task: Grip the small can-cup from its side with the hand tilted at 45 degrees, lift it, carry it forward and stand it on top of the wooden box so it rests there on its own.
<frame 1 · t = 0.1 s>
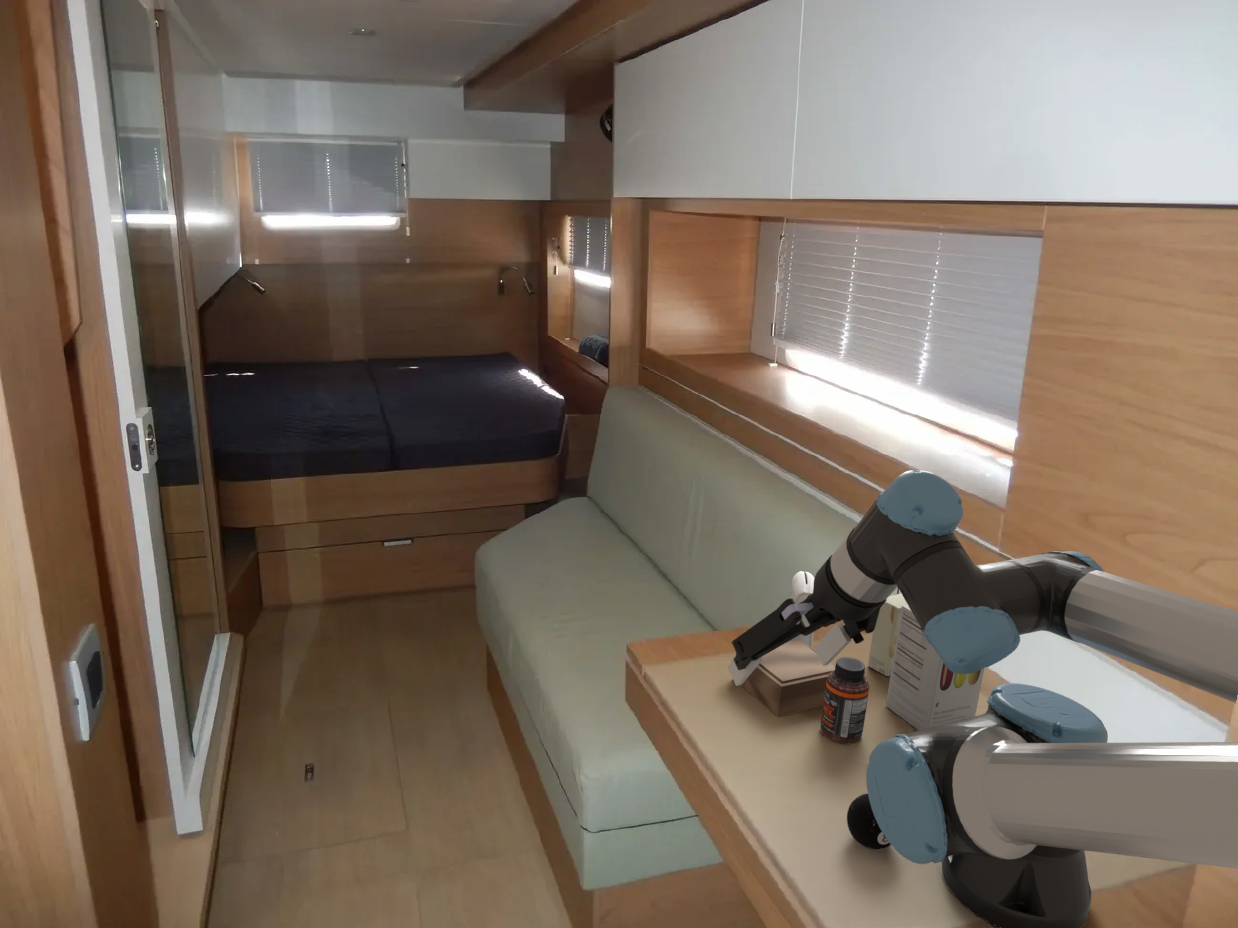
hand: (778, 665, 115), 15 cm above the table, tool tilted 35°, fingers open, 13 cm apart
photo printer: (798, 643, 156), on the table
skincare box: (889, 668, 148), on the table
supplement bottle: (840, 734, 128), on the table
wooden box: (786, 689, 139), on the table
supplement box: (928, 717, 134), on the table
billiard ball: (870, 843, 106), on the table
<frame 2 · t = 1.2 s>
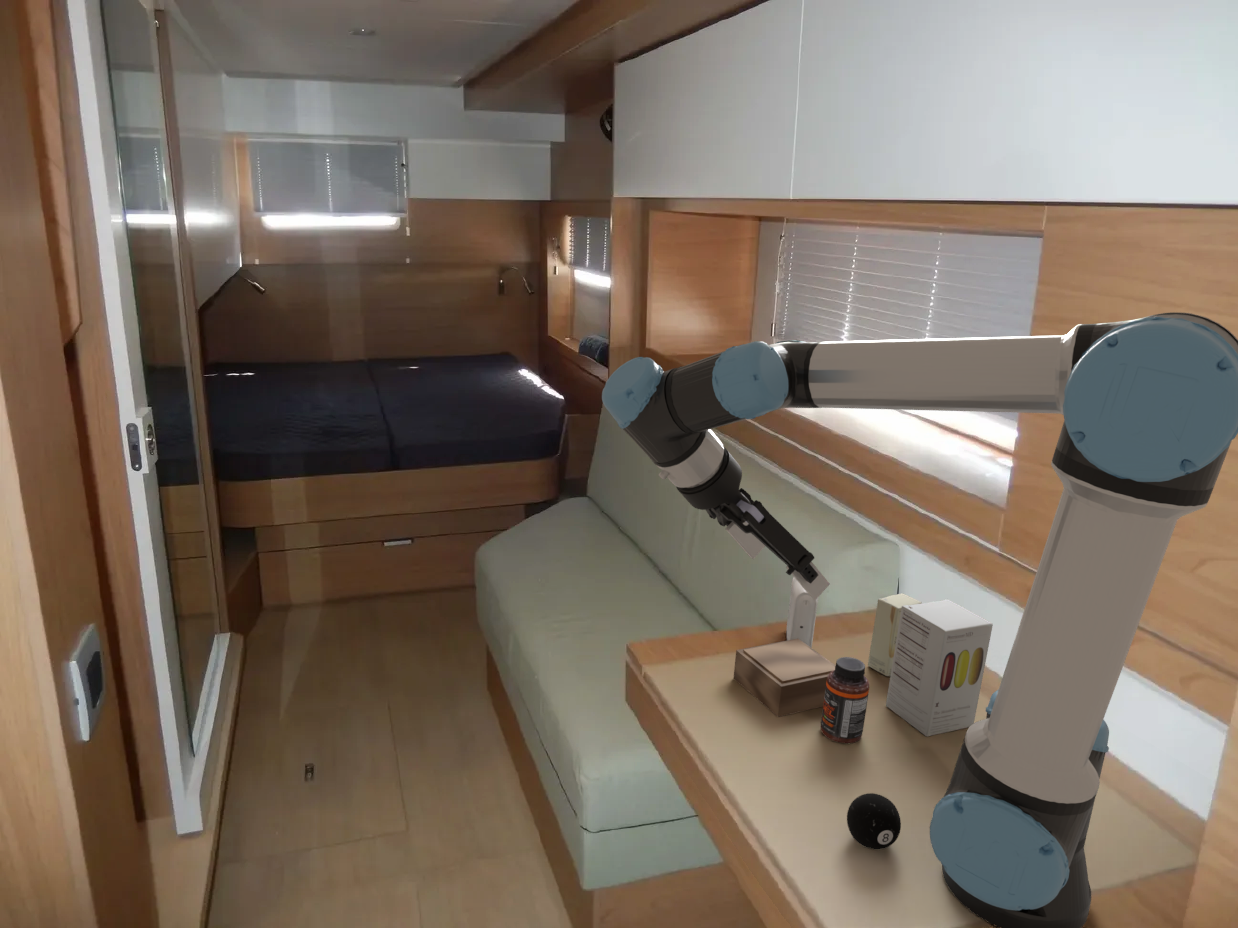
hand: (788, 570, 116), 27 cm above the table, tool tilted 45°, fingers open, 13 cm apart
nothing on the table moved.
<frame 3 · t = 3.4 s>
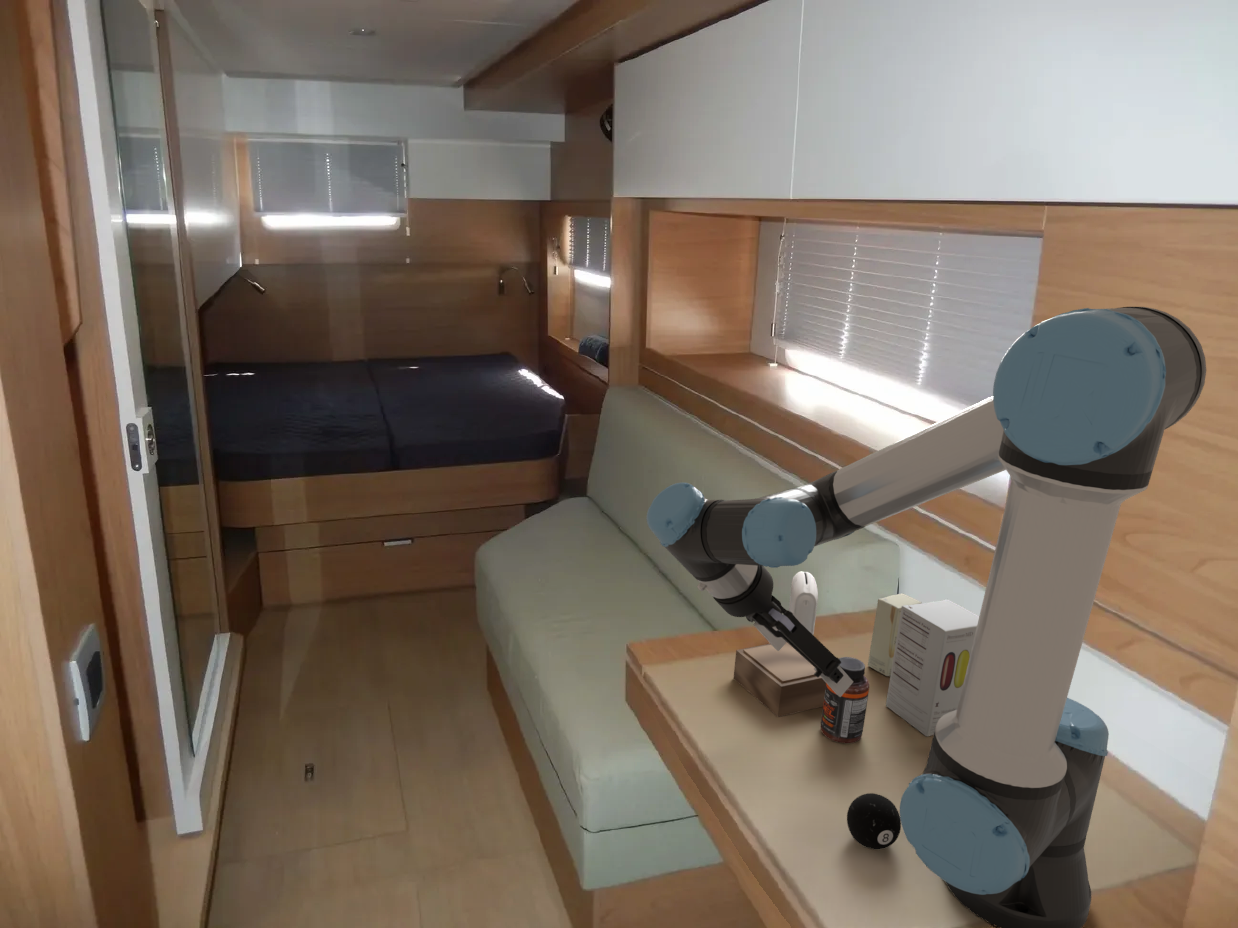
hand: (812, 664, 124), 11 cm above the table, tool tilted 45°, fingers open, 13 cm apart
nothing on the table moved.
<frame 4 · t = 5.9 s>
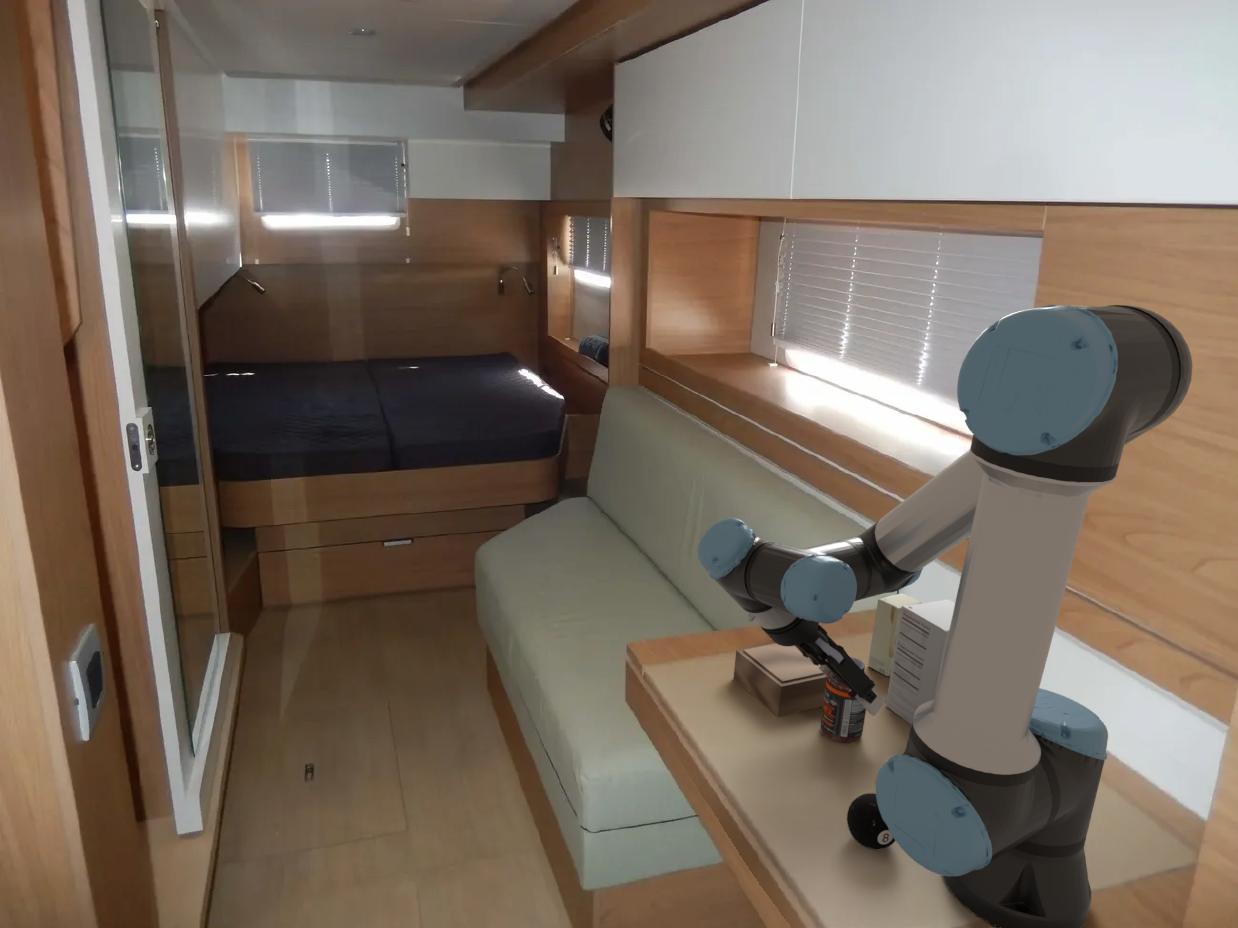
hand: (862, 695, 128), 5 cm above the table, tool tilted 45°, fingers closed on supplement bottle, 6 cm apart
supplement bottle: (840, 734, 128), on the table, touching gripper
everything else where it was.
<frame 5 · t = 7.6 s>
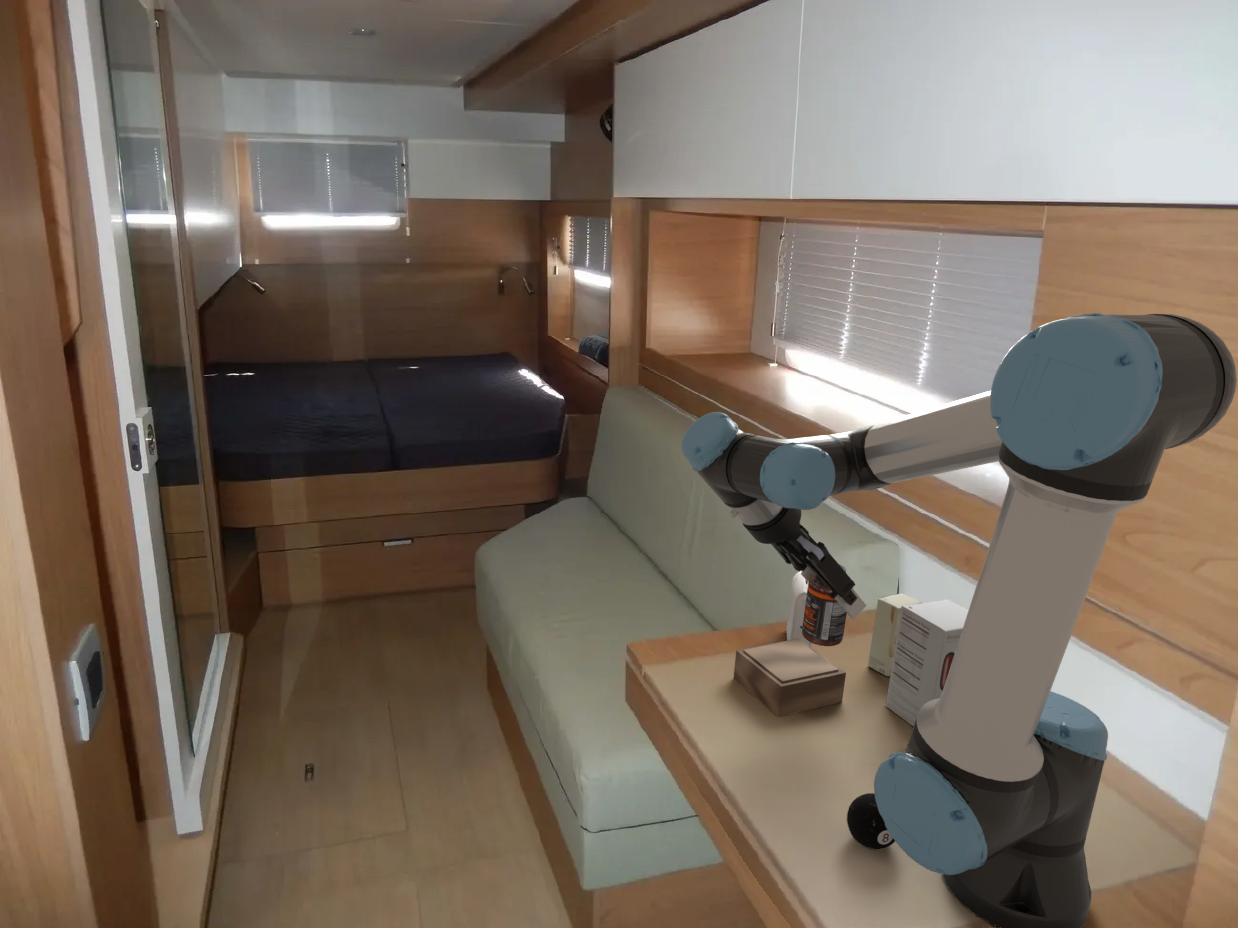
hand: (843, 601, 130), 18 cm above the table, tool tilted 45°, fingers closed on supplement bottle, 6 cm apart
supplement bottle: (821, 639, 130), point 12 cm above the table, touching gripper
everything else where it was.
when the fingers open (12 cm above the table, at t = 9.4 s): supplement bottle drops 1 cm, resting on wooden box.
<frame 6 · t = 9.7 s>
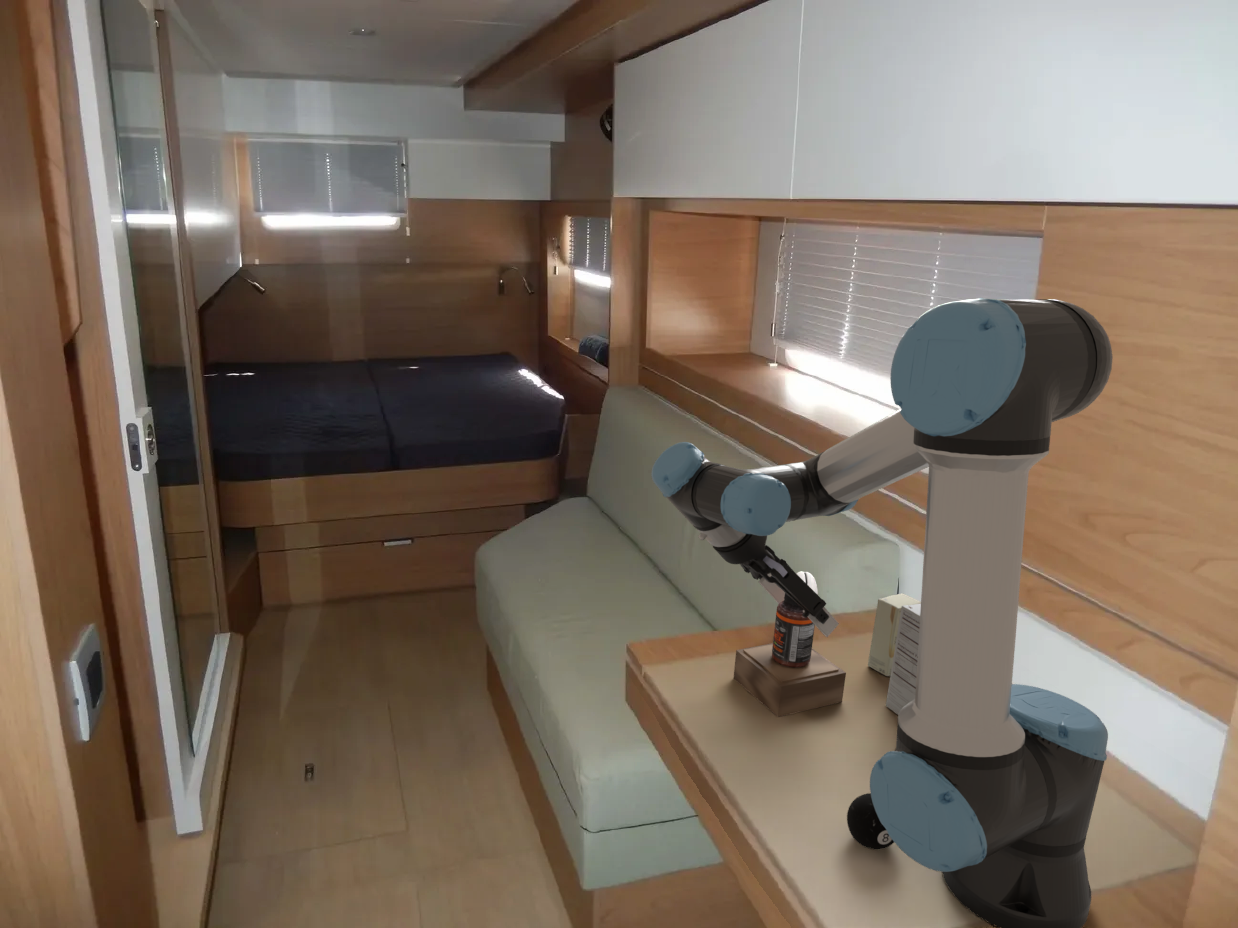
hand: (808, 613, 137), 13 cm above the table, tool tilted 45°, fingers open, 10 cm apart
supplement bottle: (790, 661, 138), point 5 cm above the table, touching wooden box
everything else where it was.
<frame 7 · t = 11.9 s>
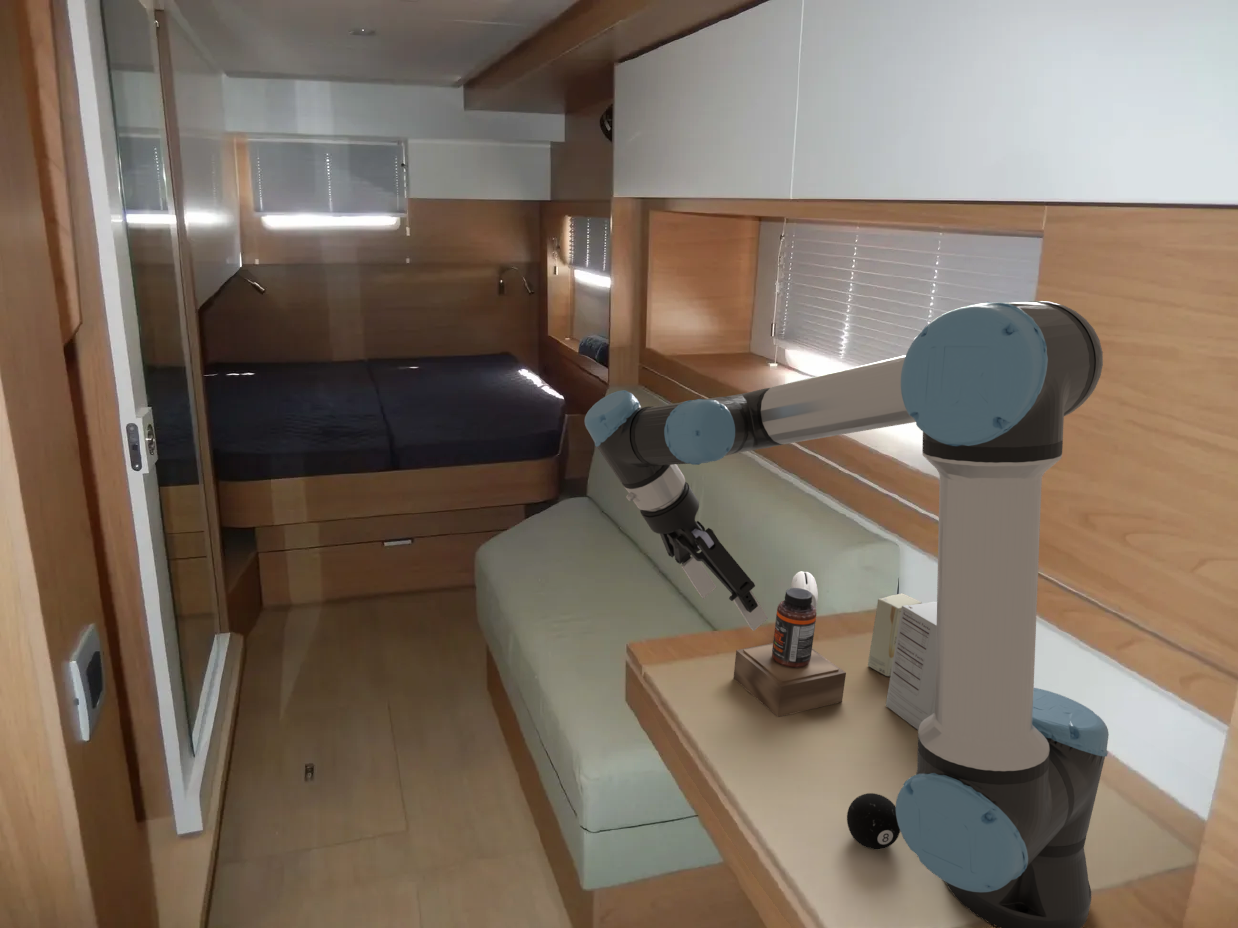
hand: (733, 607, 128), 17 cm above the table, tool tilted 35°, fingers open, 13 cm apart
nothing on the table moved.
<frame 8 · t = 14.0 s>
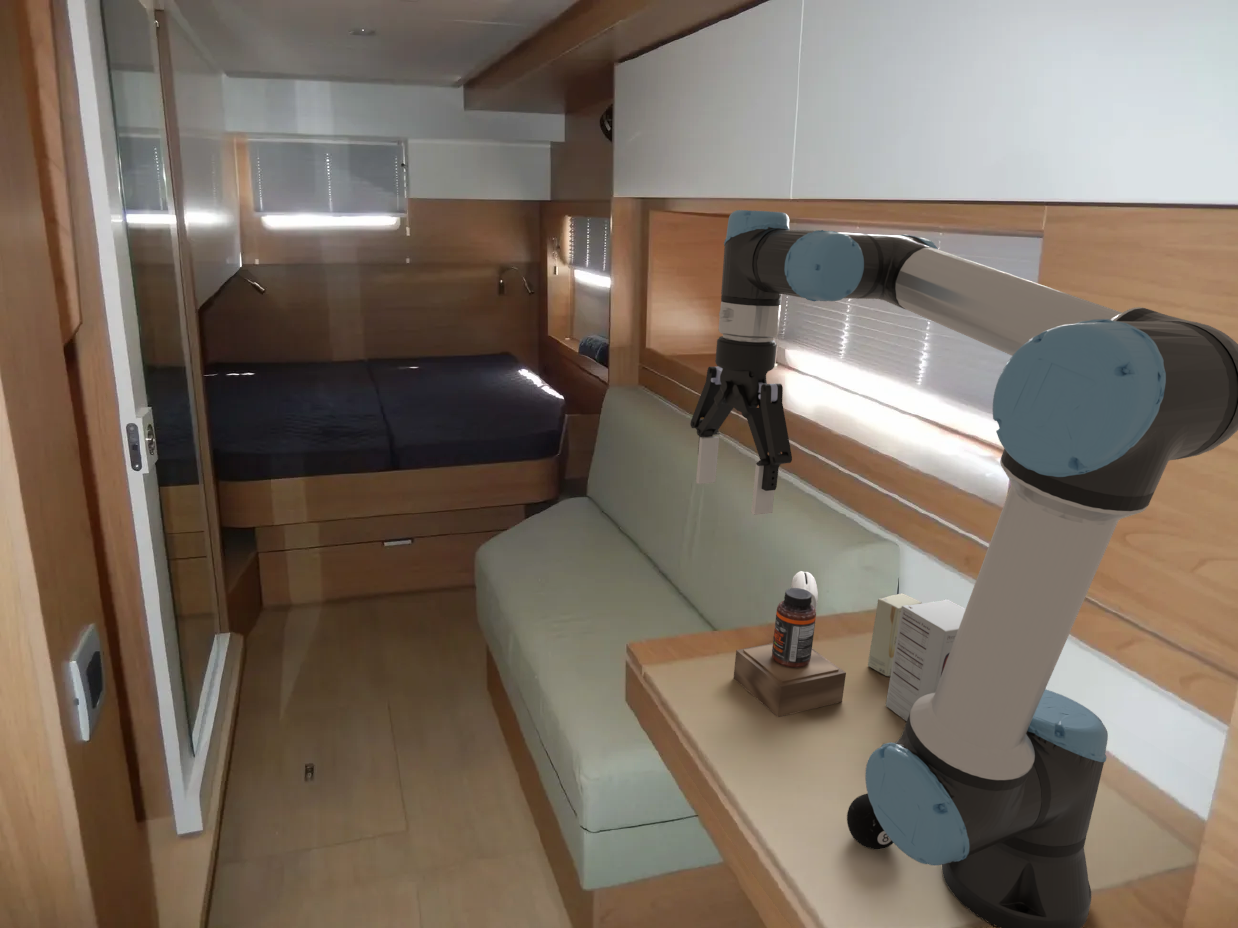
hand: (732, 497, 118), 35 cm above the table, tool pointing down, fingers open, 13 cm apart
nothing on the table moved.
at the end: supplement bottle inside the target area on the wooden box (0.2 cm from its centre), point 5.1 cm above the wooden box's base; supplement bottle tilted 0°; the gripper is holding nothing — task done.
